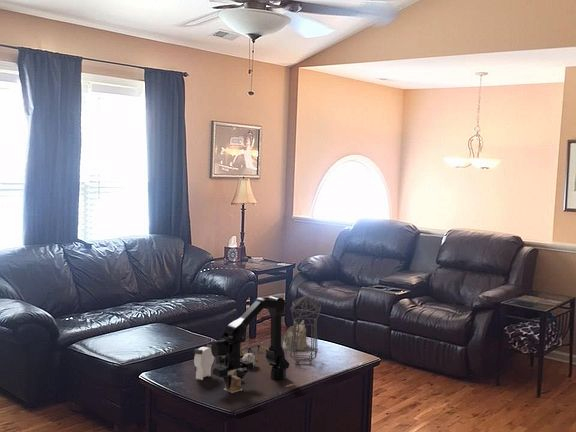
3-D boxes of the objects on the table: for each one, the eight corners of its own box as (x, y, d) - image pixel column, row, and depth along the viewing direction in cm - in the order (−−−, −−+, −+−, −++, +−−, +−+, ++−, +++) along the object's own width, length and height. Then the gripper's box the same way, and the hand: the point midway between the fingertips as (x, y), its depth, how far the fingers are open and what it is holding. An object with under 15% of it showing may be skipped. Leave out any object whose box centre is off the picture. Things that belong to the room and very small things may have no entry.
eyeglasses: (257, 351, 333) (258, 344, 333) (277, 357, 324) (278, 350, 324) (239, 357, 322) (239, 349, 322) (259, 363, 313) (259, 355, 313)
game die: (244, 375, 304) (235, 357, 307) (259, 367, 307) (250, 349, 310) (248, 372, 296) (238, 353, 299) (263, 363, 299) (253, 345, 302)
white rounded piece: (201, 373, 294) (202, 342, 293) (221, 377, 289) (222, 346, 288) (186, 380, 284) (186, 348, 283) (206, 384, 279) (207, 352, 278)
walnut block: (234, 386, 275) (234, 375, 275) (240, 389, 272) (241, 378, 271) (225, 388, 272) (225, 377, 271) (231, 392, 268) (232, 380, 268)
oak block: (234, 376, 288) (235, 366, 288) (241, 379, 284) (241, 369, 284) (226, 379, 285) (226, 368, 284) (232, 381, 281) (232, 371, 281)
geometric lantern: (319, 358, 323) (322, 293, 319) (317, 369, 307) (320, 300, 304) (289, 356, 324) (292, 291, 321) (286, 366, 308) (289, 298, 305)
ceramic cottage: (293, 339, 357) (293, 314, 355) (312, 347, 344) (313, 321, 342) (272, 345, 347) (272, 320, 345) (291, 354, 334) (292, 327, 332)
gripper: (239, 345, 283) (238, 378, 284) (205, 352, 270) (205, 386, 271) (254, 350, 275) (253, 385, 276) (220, 358, 262) (220, 394, 263)
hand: (233, 387), depth 272 cm, fingers closed on walnut block, 5 cm apart
